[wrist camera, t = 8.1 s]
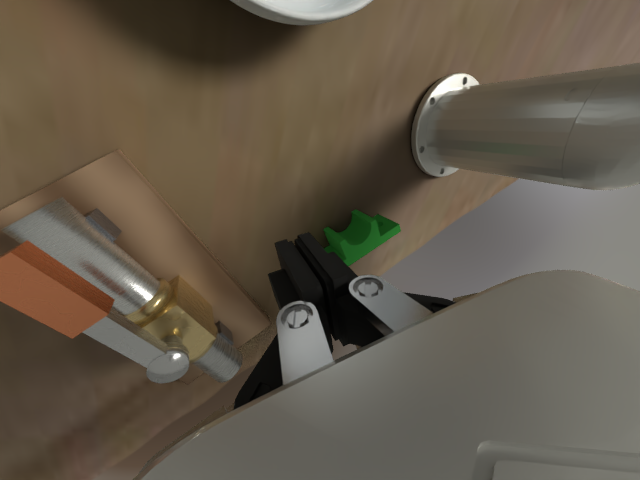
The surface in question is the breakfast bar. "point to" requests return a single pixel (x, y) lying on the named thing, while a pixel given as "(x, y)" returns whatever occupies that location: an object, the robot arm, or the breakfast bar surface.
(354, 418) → the robot arm
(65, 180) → the valve stand
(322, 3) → the serving bowl
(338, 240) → the pipe clamp
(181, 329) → the valve and pipe
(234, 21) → the breakfast bar surface
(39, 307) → the valve lever
